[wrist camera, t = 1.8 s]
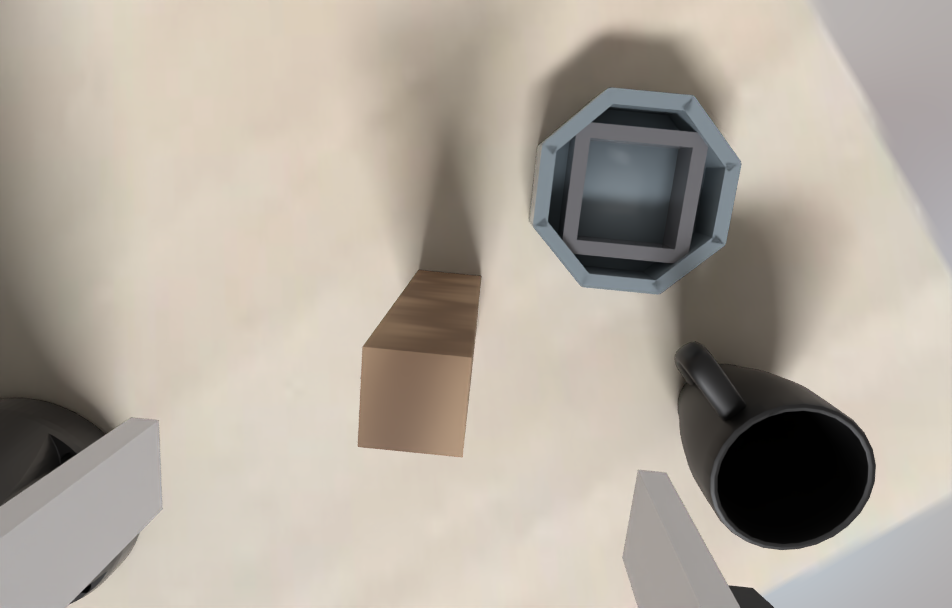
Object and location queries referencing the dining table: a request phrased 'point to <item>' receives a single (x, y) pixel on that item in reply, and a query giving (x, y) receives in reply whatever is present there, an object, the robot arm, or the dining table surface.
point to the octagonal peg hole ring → (634, 190)
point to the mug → (770, 453)
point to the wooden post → (421, 367)
